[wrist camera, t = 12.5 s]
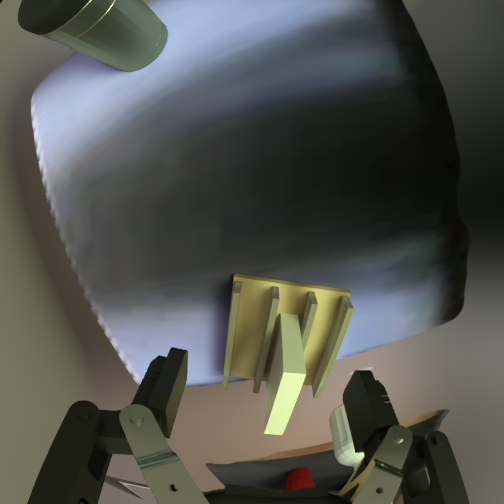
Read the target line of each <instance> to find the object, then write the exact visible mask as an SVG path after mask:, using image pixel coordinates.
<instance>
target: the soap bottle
mask: <svg viewBox="0 0 504 504" xmlns="http://www.w3.org/2000/svg"><path fill="white" fill-rule="evenodd" d="M329 420H330V426H331V432H332V438H333V444H334V451H335V456H336V459H337V460H338V462H339V463H341V464H343V465H346V466H353V467H354V470H356V468H357V467H358V465H359V463H360V461H361V460H362V458H363V457H364V452H362V453H355V449H354V445H353V441H352V436H351V432H350V428H349V424H348V420H347V416H346V412H345V408H344V404H343V405H341V406H339V407H338V408H336V409H335V410H334V411H333V412H332V413H331V416H330V419H329ZM391 504H392V503H391Z"/></svg>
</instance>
